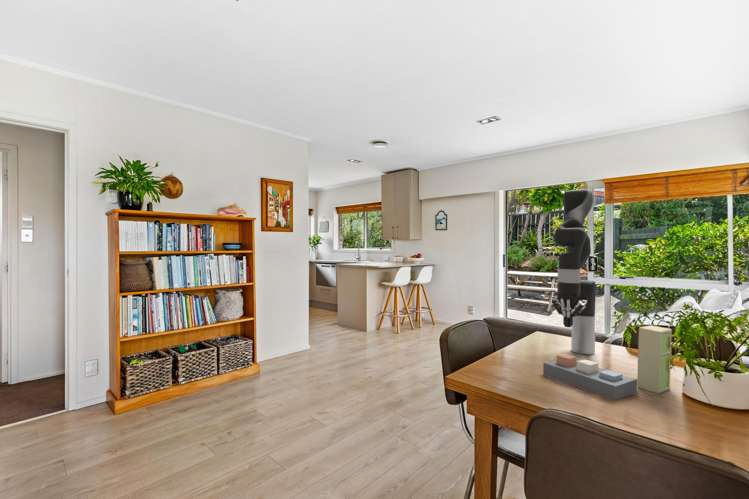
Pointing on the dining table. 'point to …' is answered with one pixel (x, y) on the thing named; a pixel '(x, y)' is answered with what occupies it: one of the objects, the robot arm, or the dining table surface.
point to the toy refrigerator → (654, 358)
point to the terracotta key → (566, 360)
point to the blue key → (610, 375)
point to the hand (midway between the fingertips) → (567, 326)
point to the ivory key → (587, 366)
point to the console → (591, 380)
